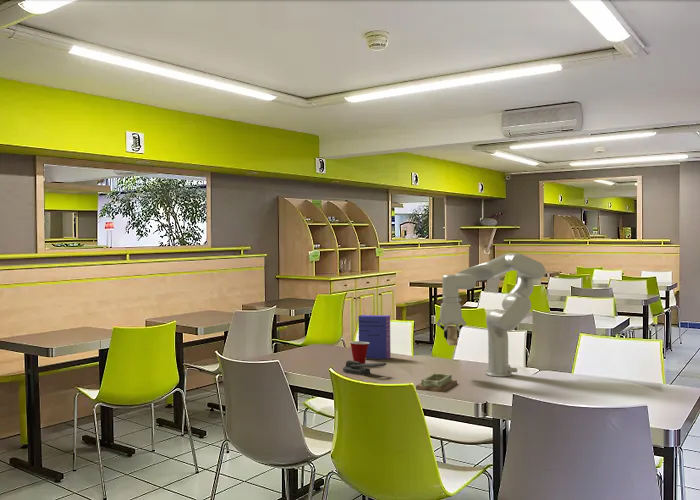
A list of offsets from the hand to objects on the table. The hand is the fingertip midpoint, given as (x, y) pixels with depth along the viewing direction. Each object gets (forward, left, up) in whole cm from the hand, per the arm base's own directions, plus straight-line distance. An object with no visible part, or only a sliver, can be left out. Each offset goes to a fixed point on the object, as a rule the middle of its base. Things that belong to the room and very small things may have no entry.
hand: (451, 338), depth 299 cm
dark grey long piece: (+43, +8, -19) cm, 47 cm away
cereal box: (+56, -34, -19) cm, 68 cm away
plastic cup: (+56, -15, -19) cm, 61 cm away
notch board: (+1, +19, -19) cm, 27 cm away
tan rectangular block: (0, 0, -2) cm, 2 cm away
